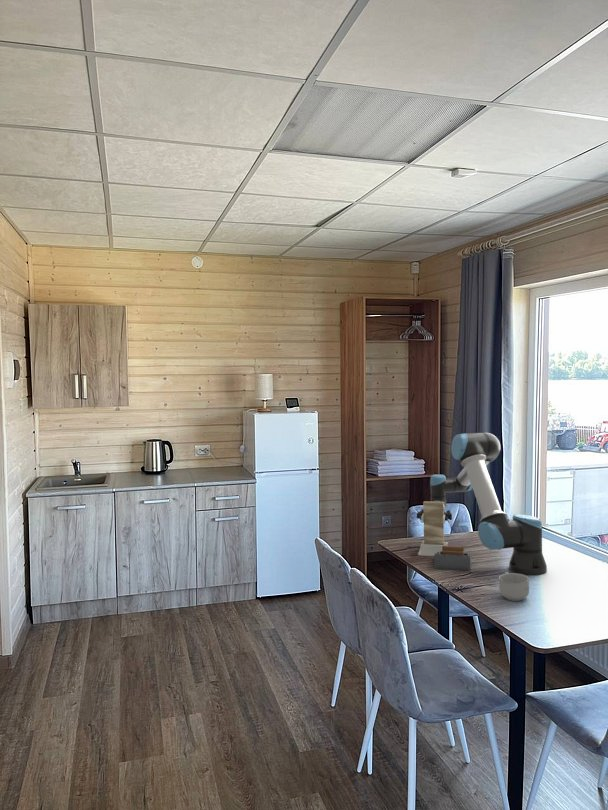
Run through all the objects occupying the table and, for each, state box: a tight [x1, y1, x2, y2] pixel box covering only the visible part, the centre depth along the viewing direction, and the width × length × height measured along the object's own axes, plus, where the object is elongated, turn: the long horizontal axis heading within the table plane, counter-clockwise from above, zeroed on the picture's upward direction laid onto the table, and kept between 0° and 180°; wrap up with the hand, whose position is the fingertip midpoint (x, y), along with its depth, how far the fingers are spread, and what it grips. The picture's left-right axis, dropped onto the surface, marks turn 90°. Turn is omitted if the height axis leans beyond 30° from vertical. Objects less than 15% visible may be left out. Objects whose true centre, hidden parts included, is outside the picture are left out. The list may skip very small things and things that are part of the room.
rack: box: [433, 551, 472, 572], centre depth 265 cm, size 15×15×8 cm
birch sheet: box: [422, 500, 445, 545], centre depth 282 cm, size 2×9×22 cm, turn 73°
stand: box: [417, 540, 449, 557], centre depth 283 cm, size 10×14×6 cm
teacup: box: [498, 571, 530, 602], centre depth 229 cm, size 14×11×8 cm
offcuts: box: [442, 545, 465, 555], centre depth 262 cm, size 6×9×8 cm
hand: (432, 520), depth 278 cm, fingers closed on birch sheet, 9 cm apart
